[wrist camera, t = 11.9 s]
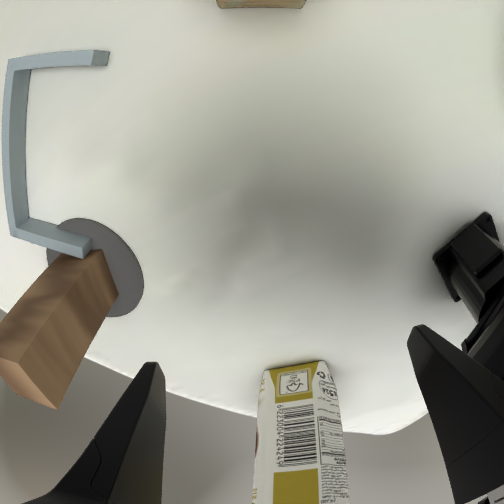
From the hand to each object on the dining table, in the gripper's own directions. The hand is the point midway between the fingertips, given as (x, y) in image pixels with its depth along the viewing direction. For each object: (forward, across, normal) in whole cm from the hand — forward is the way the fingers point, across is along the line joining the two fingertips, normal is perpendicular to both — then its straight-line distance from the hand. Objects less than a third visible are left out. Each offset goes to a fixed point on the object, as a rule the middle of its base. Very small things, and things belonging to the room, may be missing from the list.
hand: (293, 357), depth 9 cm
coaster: (+14, +14, +5) cm, 21 cm away
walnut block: (+14, +14, +5) cm, 20 cm away
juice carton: (+11, -3, +20) cm, 23 cm away
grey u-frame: (+14, +14, -6) cm, 21 cm away
